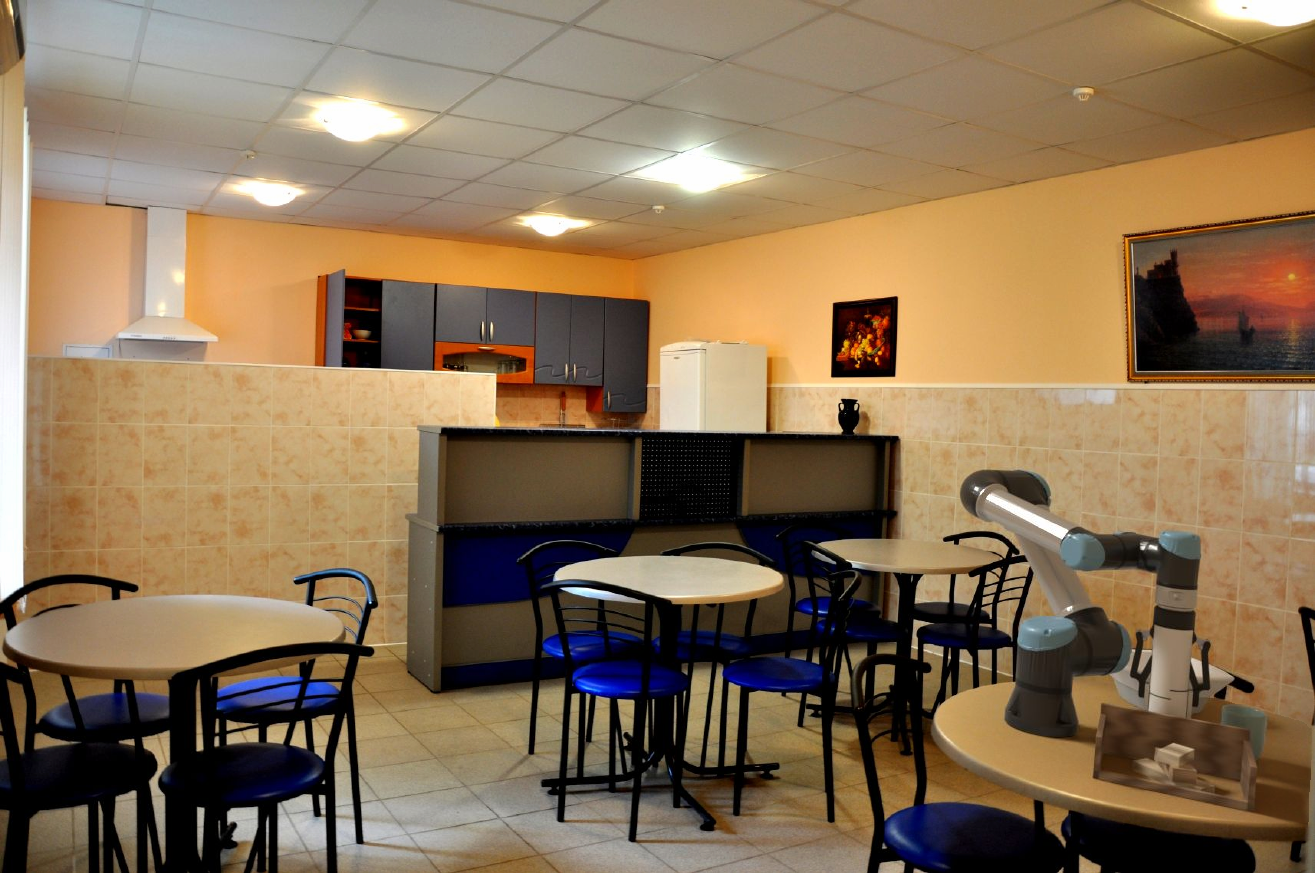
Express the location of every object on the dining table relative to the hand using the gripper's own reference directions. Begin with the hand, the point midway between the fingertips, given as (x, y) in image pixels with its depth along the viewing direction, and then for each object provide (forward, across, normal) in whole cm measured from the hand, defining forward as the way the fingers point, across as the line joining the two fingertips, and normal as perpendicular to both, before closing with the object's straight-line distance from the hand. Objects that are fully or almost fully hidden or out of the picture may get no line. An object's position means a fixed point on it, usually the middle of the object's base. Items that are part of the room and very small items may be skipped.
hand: (1166, 717), depth 196 cm
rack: (+8, +1, -15) cm, 17 cm away
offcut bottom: (+8, +1, -17) cm, 19 cm away
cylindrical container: (+6, 0, 0) cm, 6 cm away
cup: (+8, +14, +7) cm, 17 cm away
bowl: (+8, -1, +38) cm, 39 cm away
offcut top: (+3, +2, -17) cm, 17 cm away
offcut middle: (+6, +2, -16) cm, 17 cm away
